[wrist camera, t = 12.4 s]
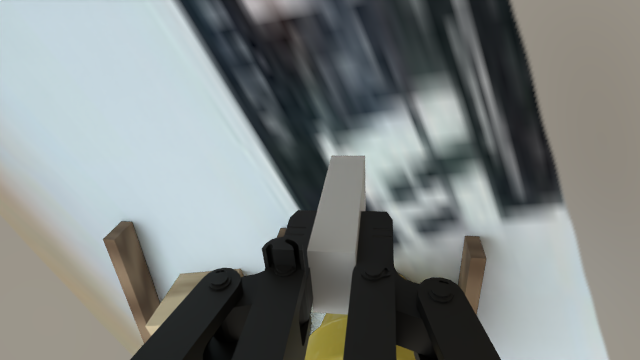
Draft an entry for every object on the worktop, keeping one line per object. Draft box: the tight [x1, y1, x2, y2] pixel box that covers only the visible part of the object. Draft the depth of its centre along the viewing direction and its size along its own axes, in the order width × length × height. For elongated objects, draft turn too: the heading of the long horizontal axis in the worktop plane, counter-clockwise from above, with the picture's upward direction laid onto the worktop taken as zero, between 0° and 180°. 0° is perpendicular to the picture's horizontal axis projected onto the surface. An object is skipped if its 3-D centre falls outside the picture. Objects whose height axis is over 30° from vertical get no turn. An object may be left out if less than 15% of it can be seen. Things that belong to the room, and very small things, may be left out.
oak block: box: [145, 269, 244, 336], centre depth 34 cm, size 6×6×6 cm
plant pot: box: [305, 274, 416, 360], centre depth 29 cm, size 10×10×10 cm
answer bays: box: [103, 221, 486, 344], centre depth 34 cm, size 15×29×3 cm, turn 93°
